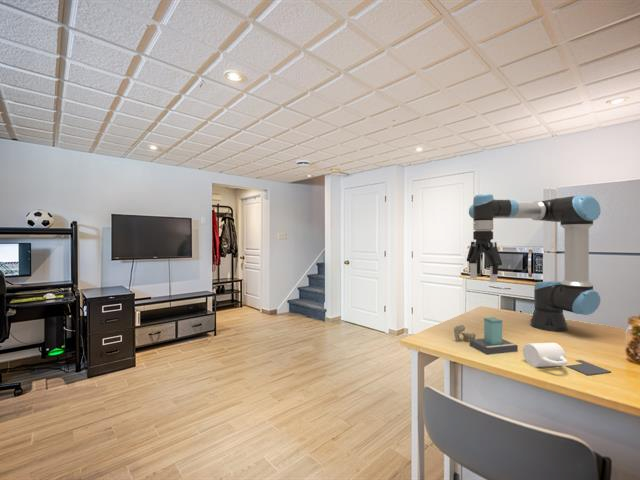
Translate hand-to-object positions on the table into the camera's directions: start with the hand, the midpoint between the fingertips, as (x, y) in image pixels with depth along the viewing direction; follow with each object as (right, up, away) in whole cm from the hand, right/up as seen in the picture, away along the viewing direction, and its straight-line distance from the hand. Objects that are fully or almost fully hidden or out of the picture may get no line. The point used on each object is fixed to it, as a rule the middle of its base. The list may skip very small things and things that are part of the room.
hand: (483, 280), depth 132 cm
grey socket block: (+1, -28, -6) cm, 29 cm away
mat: (+23, -28, -24) cm, 43 cm away
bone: (-6, -28, +4) cm, 29 cm away
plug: (+1, -27, -6) cm, 28 cm away
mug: (+11, -28, -24) cm, 38 cm away
